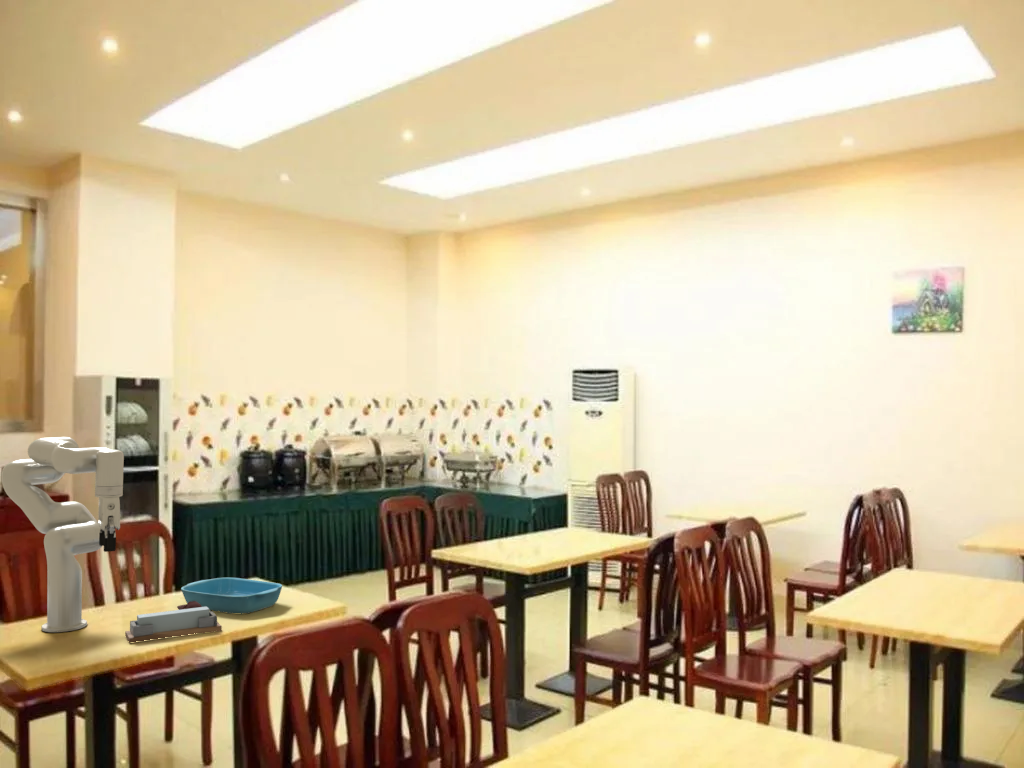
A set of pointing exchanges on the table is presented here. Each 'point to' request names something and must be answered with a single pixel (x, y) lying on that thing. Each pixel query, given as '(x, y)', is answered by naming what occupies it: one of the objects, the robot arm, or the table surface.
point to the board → (172, 633)
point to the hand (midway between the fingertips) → (107, 548)
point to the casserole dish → (232, 594)
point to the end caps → (148, 628)
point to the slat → (173, 619)
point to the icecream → (189, 605)
